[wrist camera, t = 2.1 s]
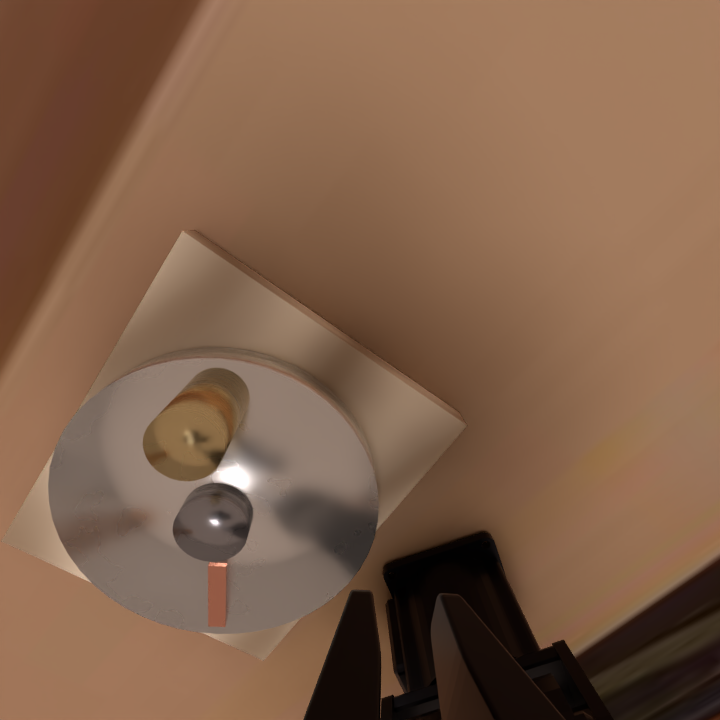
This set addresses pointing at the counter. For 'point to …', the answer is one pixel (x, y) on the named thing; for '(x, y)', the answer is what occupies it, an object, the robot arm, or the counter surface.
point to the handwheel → (215, 491)
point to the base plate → (272, 337)
